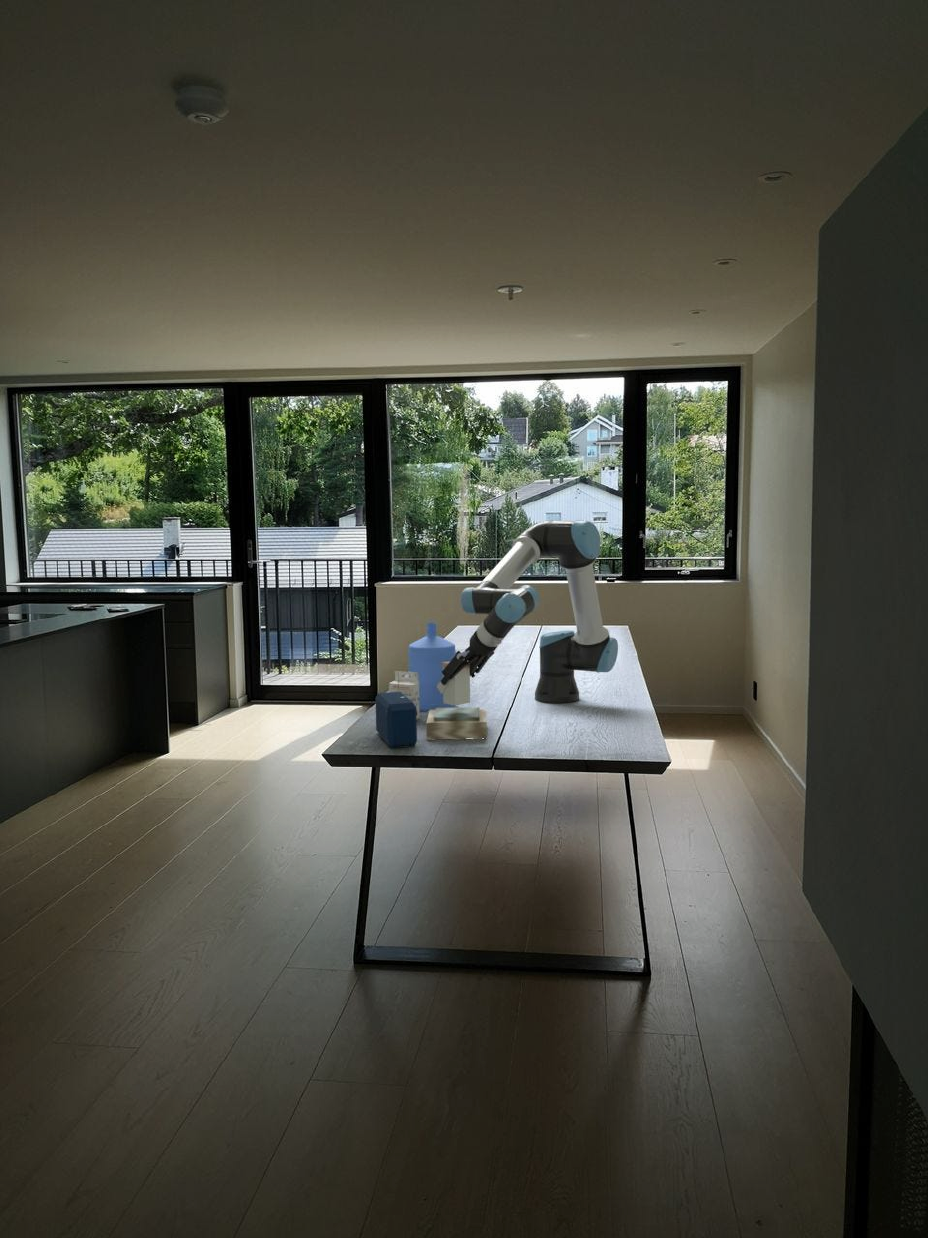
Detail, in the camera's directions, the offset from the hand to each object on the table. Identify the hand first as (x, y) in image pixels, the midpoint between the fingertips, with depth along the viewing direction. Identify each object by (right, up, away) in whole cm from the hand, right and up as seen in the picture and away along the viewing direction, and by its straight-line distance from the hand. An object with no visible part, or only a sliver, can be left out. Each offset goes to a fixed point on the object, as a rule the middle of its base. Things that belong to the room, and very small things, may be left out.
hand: (448, 688), depth 271 cm
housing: (+3, -4, -2) cm, 5 cm away
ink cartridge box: (-14, -11, +17) cm, 25 cm away
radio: (-14, -14, -9) cm, 22 cm away
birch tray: (+3, -13, -1) cm, 13 cm away
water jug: (-6, -9, +34) cm, 36 cm away
